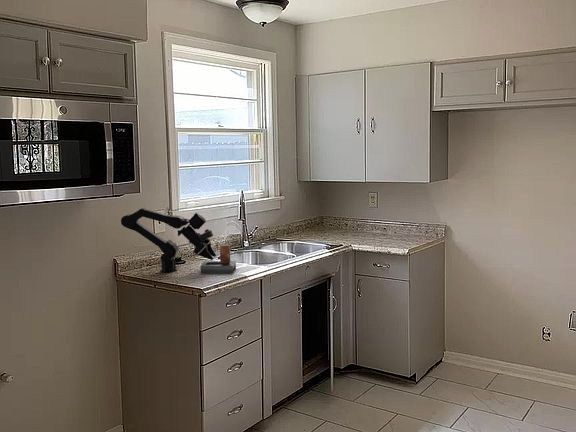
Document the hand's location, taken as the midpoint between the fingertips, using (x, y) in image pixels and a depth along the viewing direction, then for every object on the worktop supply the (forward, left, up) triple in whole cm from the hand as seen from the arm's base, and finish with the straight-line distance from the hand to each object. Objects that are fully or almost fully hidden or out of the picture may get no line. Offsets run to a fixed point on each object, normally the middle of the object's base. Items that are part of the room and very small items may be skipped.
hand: (214, 257), depth 305 cm
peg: (+4, -4, -7) cm, 9 cm away
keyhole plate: (+1, -2, -7) cm, 7 cm away
